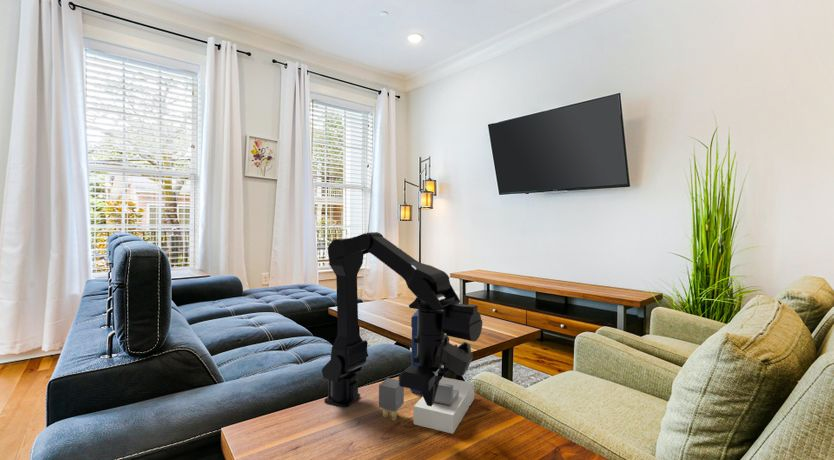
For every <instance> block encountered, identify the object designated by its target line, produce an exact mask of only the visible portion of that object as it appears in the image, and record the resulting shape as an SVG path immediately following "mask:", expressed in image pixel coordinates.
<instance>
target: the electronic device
mask: <svg viewBox="0 0 834 460" xmlns="http://www.w3.org/2000/svg"><path fill="white" fill-rule="evenodd" d="M410 323H411V325H410V327H411V353H410V355H411V359H410V360H411V364H410V365H412V366H417V367H418V366H420V365H419V363H415V362H414V357H415V356H416V355H417V343H414V337H416V336H417V332H418V309H416V310H415V312H414V313H413V314H412V316H411V322H410ZM409 389H410V388H409ZM410 392H412V393H413V394H421V391H419V390H415V389H410Z"/></svg>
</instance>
